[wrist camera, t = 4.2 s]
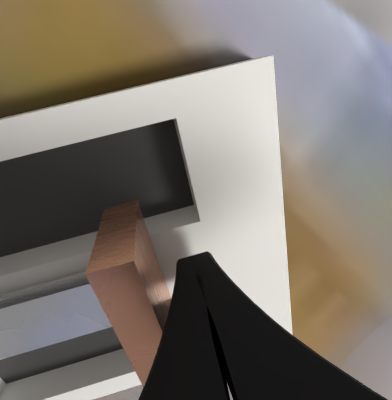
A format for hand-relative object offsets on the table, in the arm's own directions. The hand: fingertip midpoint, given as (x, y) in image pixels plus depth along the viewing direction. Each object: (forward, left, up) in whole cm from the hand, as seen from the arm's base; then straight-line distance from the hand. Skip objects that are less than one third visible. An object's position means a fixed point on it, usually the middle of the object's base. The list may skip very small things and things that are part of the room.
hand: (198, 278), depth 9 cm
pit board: (0, +5, -2) cm, 5 cm away
